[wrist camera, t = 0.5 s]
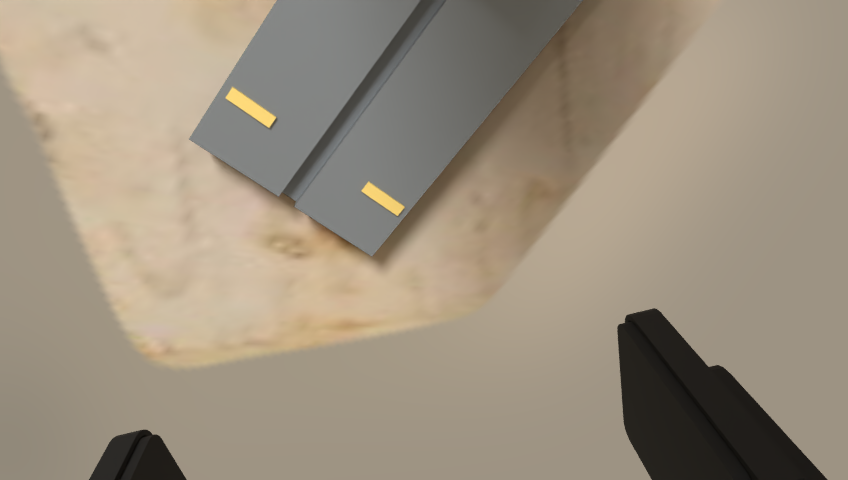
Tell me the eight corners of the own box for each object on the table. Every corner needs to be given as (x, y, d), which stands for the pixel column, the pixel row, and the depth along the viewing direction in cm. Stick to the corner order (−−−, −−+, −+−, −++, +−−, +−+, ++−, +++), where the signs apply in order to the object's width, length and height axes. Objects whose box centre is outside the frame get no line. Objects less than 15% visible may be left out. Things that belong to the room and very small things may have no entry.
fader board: (449, -263, 28) (457, -286, 26) (624, -70, 33) (644, -74, 31) (199, 129, 36) (187, 140, 33) (371, 241, 40) (372, 257, 38)
